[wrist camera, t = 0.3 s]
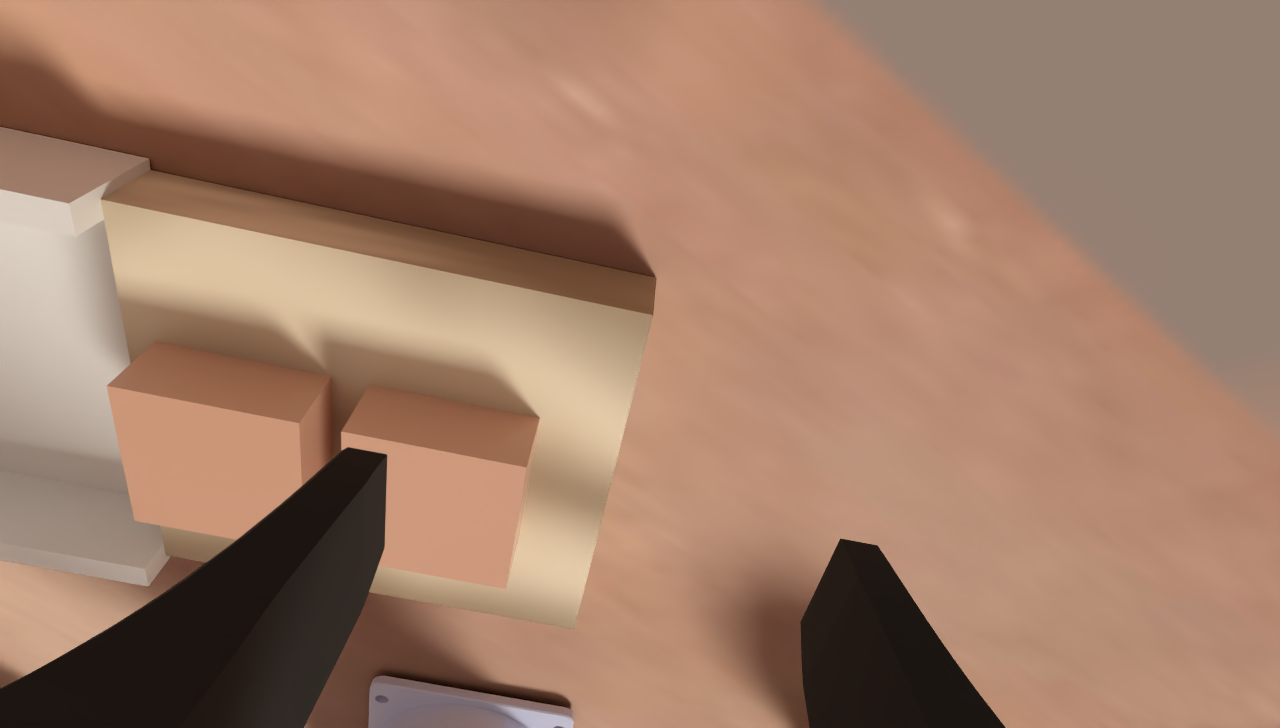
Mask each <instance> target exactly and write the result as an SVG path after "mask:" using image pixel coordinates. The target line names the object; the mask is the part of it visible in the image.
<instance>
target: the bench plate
mask: <svg viewBox="0 0 1280 728" xmlns="http://www.w3.org/2000/svg"><path fill="white" fill-rule="evenodd" d="M100 200H101V205H102V211H103V216H104V222H105V227H106V233H107V238H108V244H109V249H110V254H111V260H112V265H113V271H114V276H115V282H116V287H117V293H118V298H119V303H120V309H121V314H122V320H123V325H124V331H125V336H126V342H127V347H128V353H129V358H130V363H132V362H133V361H134V360H135V359H137V358H138V357H139V356H140V355H141V354H142V353H143V352H144V351H145V350H146V349H148V348H149V347H150V346H151V345H152V344H153V343H154V342H161V343H166V344H171V345H176V346H181V347H186V348H191V349H196V350H201V351H206V352H211V353H216V354H221V355H226V356H231V357H236V358H241V359H246V360H251V361H256V362H261V363H266V364H271V365H276V366H281V367H286V368H291V369H296V370H301V371H306V372H311V373H316V374H321V375H326V376H331V380H332V458H334V457H335V456H336V455H337V454H338V453H339V452H340V451H341V431H342V429H343V428H344V426H345V424H346V423H347V421H348V420H349V418H350V416H351V415H352V413H353V411H354V410H355V408H356V406H357V405H358V403H359V401H360V400H361V398H362V396H363V395H364V393H365V391H366V390H367V388H368V387H369V385H370V384H372V385H377V386H382V387H387V388H392V389H397V390H402V391H407V392H412V393H417V394H422V395H427V396H432V397H437V398H442V399H447V400H452V401H457V402H462V403H467V404H472V405H477V406H482V407H487V408H492V409H497V410H502V411H507V412H512V413H517V414H522V415H527V416H532V417H537V418H540V421H539V426H538V432H537V438H536V444H535V449H534V455H533V461H532V467H531V473H530V478H529V484H528V490H527V496H526V501H525V507H524V513H523V519H522V525H521V530H520V536H519V540H518V544H517V548H516V552H515V556H514V560H513V564H512V568H511V572H510V576H509V580H508V584H507V588H506V589H502V588H497V587H492V586H486V585H481V584H475V583H470V582H464V581H459V580H454V579H448V578H443V577H437V576H432V575H426V574H421V573H415V572H410V571H405V570H399V569H394V568H388V567H383V566H378V568H377V571H376V574H375V576H374V579H373V582H372V585H371V587H370V590H369V592H370V593H376V594H381V595H387V596H392V597H398V598H404V599H409V600H415V601H420V602H426V603H431V604H437V605H442V606H448V607H453V608H459V609H464V610H470V611H475V612H481V613H486V614H492V615H497V616H503V617H508V618H514V619H519V620H525V621H530V622H536V623H541V624H547V625H552V626H558V627H563V628H569V629H574V628H575V624H576V620H577V616H578V612H579V608H580V604H581V600H582V596H583V592H584V588H585V584H586V580H587V576H588V572H589V569H590V565H591V561H592V557H593V553H594V549H595V545H596V541H597V537H598V533H599V529H600V525H601V521H602V517H603V513H604V509H605V505H606V501H607V497H608V493H609V489H610V485H611V481H612V477H613V473H614V469H615V465H616V461H617V457H618V453H619V449H620V445H621V441H622V437H623V433H624V429H625V425H626V421H627V417H628V413H629V409H630V405H631V401H632V397H633V393H634V389H635V385H636V381H637V378H638V374H639V370H640V366H641V362H642V358H643V354H644V350H645V346H646V342H647V338H648V334H649V330H650V326H651V322H652V318H653V311H654V299H655V287H656V277H651V276H646V275H641V274H637V273H632V272H627V271H623V270H618V269H613V268H609V267H604V266H599V265H595V264H590V263H585V262H580V261H576V260H571V259H566V258H562V257H557V256H552V255H548V254H543V253H538V252H534V251H529V250H524V249H519V248H515V247H510V246H505V245H501V244H496V243H491V242H487V241H482V240H477V239H473V238H468V237H463V236H458V235H454V234H449V233H444V232H440V231H435V230H430V229H426V228H421V227H416V226H412V225H407V224H402V223H397V222H393V221H388V220H383V219H379V218H374V217H369V216H365V215H360V214H355V213H351V212H346V211H341V210H336V209H332V208H327V207H322V206H318V205H313V204H308V203H304V202H299V201H294V200H290V199H285V198H280V197H275V196H271V195H266V194H261V193H257V192H252V191H247V190H243V189H238V188H233V187H229V186H224V185H219V184H214V183H210V182H205V181H200V180H196V179H191V178H186V177H182V176H177V175H172V174H168V173H163V172H158V171H153V170H150V171H148V172H146V173H145V174H143V175H141V176H139V177H138V178H136V179H134V180H133V181H131V182H129V183H127V184H126V185H124V186H122V187H121V188H119V189H117V190H116V191H114V192H112V193H110V194H109V195H107V196H105V197H104V198H102V199H100ZM160 527H161V532H162V538H163V543H164V549H165V554H166V555H167V556H172V557H178V558H183V559H189V560H194V561H200V562H205V563H206V562H208V561H209V560H210V559H212V558H213V557H215V556H216V555H217V554H219V553H220V552H221V551H223V550H224V549H225V548H227V547H228V546H229V545H231V544H232V543H233V542H235V541H236V539H231V538H225V537H220V536H214V535H209V534H203V533H198V532H192V531H187V530H182V529H176V528H171V527H165V526H160Z"/></svg>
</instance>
